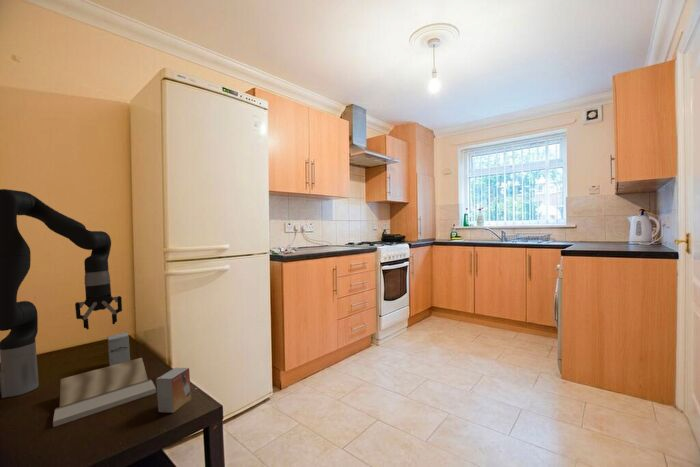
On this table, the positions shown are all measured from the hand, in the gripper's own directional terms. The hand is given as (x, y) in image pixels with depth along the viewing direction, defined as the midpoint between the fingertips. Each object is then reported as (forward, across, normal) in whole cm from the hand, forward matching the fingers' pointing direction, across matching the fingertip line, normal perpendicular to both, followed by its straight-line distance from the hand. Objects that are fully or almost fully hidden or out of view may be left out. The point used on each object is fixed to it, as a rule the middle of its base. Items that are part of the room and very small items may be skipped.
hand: (100, 326), depth 119 cm
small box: (+22, -16, +40) cm, 48 cm away
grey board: (+22, 0, +20) cm, 30 cm away
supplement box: (+22, -6, -19) cm, 30 cm away
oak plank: (+19, 0, +8) cm, 21 cm away
